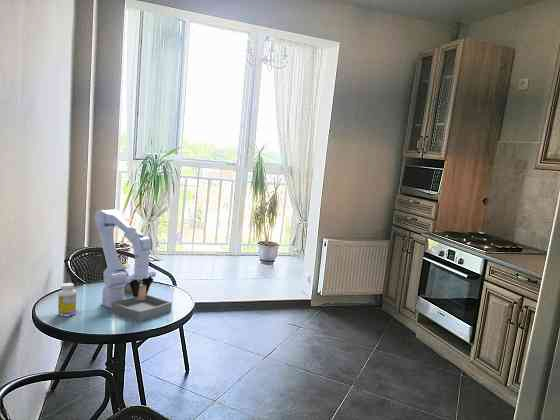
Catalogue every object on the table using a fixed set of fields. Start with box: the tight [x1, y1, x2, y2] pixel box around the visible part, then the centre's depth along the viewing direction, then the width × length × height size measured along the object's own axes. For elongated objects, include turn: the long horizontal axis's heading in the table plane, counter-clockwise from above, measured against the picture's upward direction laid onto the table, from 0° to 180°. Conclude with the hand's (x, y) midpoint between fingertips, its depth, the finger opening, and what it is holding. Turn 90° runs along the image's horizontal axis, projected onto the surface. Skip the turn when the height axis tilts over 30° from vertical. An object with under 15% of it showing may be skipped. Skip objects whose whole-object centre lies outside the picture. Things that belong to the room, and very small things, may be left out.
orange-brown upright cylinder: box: [135, 284, 146, 300], centre depth 180 cm, size 5×5×6 cm
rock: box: [124, 279, 142, 295], centre depth 208 cm, size 11×9×10 cm
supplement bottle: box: [57, 282, 77, 316], centre depth 174 cm, size 7×7×13 cm
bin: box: [110, 293, 173, 323], centre depth 184 cm, size 18×18×4 cm
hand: (140, 295), depth 180 cm, fingers closed on orange-brown upright cylinder, 5 cm apart
